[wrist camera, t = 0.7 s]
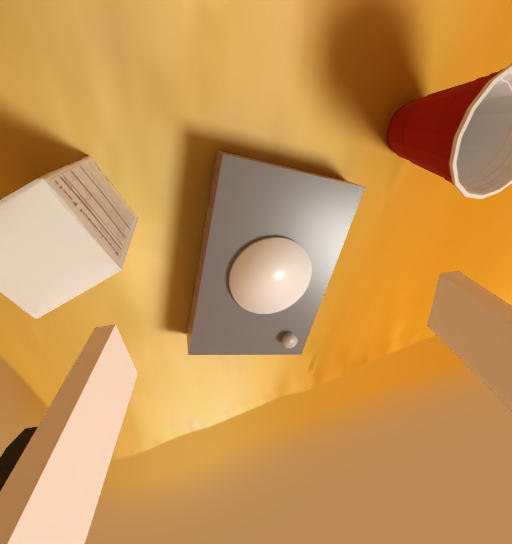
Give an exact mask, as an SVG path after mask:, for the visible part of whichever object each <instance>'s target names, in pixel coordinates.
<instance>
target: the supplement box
mask: <svg viewBox="0 0 512 544" xmlns="http://www.w3.org/2000/svg"><path fill="white" fill-rule="evenodd" d="M137 220H138V217H137V216H136V215H135V214H134V212H133V211H132V210H131V208H130V207H129V206H128V205H127V203H126V202H125V201H124V199H123V198H122V197H121V195H120V194H119V193H118V191H117V190H116V189H115V188H114V186H113V185H112V184H111V182H110V181H109V180H108V178H107V177H106V176H105V174H104V173H103V172H102V171H101V169H100V168H99V167H98V165H97V164H96V163H95V161H94V160H93V159H92V158H91V157H90V156H87V157H84V158H82V159H80V160H78V161H76V162H73V163H71V164H68V165H66V166H64V167H61V168H59V169H56V170H54V171H51V172H49V173H47V174H45V175H43V176H41V177H39V178H37V179H35V180H34V181H32V182H30V183H28V184H27V185H25V186H23V187H21V188H19V189H18V190H16V191H14V192H12V193H11V194H9V195H7V196H6V197H4V198H2V199H0V292H1V293H2V294H3V295H5V296H6V297H7V298H8V299H10V300H11V301H12V302H14V303H15V304H16V305H17V306H19V307H20V308H21V309H22V310H24V311H25V312H26V313H28V314H29V315H31V316H32V317H34V318H36V319H37V318H39V317H41V316H43V315H44V314H46V313H48V312H50V311H52V310H53V309H55V308H57V307H59V306H60V305H62V304H64V303H66V302H67V301H69V300H71V299H73V298H74V297H76V296H78V295H79V294H81V293H83V292H85V291H86V290H88V289H90V288H92V287H93V286H95V285H97V284H99V283H100V282H102V281H104V280H105V279H107V278H109V277H110V276H112V275H114V274H115V273H117V272H119V271H121V270H122V266H123V263H124V261H125V257H126V254H127V251H128V248H129V245H130V242H131V239H132V236H133V233H134V230H135V227H136V223H137Z"/></svg>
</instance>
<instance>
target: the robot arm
mask: <svg viewBox="0 0 512 544" xmlns="http://www.w3.org/2000/svg"><path fill="white" fill-rule="evenodd" d="M427 326H428V327H429V328H430V329H431V330H432V331H433V332H434V333H435V334H436V335H437V336H438V337H439V338H440V339H441V340H442V341H443V342H444V343H445V344H446V345H447V346H448V347H449V348H450V349H451V350H452V351H453V352H454V353H455V354H456V355H457V356H458V357H459V358H460V359H461V360H462V361H463V362H464V363H465V364H466V365H467V366H468V367H469V368H470V369H471V370H472V371H473V372H474V373H475V374H476V375H477V376H478V377H479V378H480V379H481V380H482V381H483V382H484V383H485V384H486V385H487V386H488V387H489V389H490V390H492V391H493V393H494V394H495V395H497V397H498V398H499V399H501V401H502V402H503V403H504V404H505V405H506V406H508V407H509V409H510V410H511V411H512V306H511V305H510V304H508V303H506V302H505V301H503V300H502V299H500V298H499V297H497V296H496V295H494V294H493V293H491V292H490V291H488V290H486V289H485V288H483V287H482V286H480V285H479V284H477V283H476V282H474V281H473V280H471V279H470V278H468V277H467V276H465V275H463V274H462V273H460V272H459V271H454V272H448V273H442V274H440V276H439V280H438V284H437V288H436V292H435V296H434V300H433V304H432V308H431V312H430V316H429V320H428V325H427ZM137 374H138V373H137V371H136V369H135V366H134V364H133V362H132V360H131V358H130V355H129V353H128V351H127V349H126V347H125V344H124V342H123V340H122V338H121V336H120V333H119V331H118V329H117V327H116V325H109V326H103V327H96V328H95V329H94V331H93V333H92V334H91V336H90V338H89V339H88V341H87V343H86V345H85V346H84V348H83V350H82V351H81V353H80V355H79V357H78V358H77V360H76V362H75V364H74V365H73V367H72V369H71V370H70V372H69V374H68V376H67V377H66V379H65V381H64V383H63V384H62V386H61V388H60V389H59V391H58V393H57V395H56V396H55V398H54V400H53V402H52V403H51V405H50V407H49V408H48V410H47V412H46V414H45V415H44V417H43V419H42V421H41V422H40V424H39V426H38V427H32V428H27V429H24V431H23V432H22V433H21V434H20V435H19V436H18V437H17V438H16V439H15V440H14V441H13V442H12V443H11V444H10V445H9V446H8V447H7V448H6V450H5V451H4V453H3V454H2V456H1V457H0V544H85V540H86V537H87V534H88V531H89V528H90V524H91V521H92V518H93V515H94V512H95V508H96V505H97V502H98V499H99V495H100V492H101V489H102V486H103V483H104V480H105V477H106V473H107V470H108V467H109V463H110V461H111V457H112V454H113V451H114V448H115V445H116V441H117V438H118V435H119V432H120V429H121V425H122V422H123V419H124V416H125V413H126V409H127V406H128V403H129V400H130V397H131V393H132V390H133V387H134V384H135V381H136V377H137Z"/></svg>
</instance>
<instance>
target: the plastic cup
mask: <svg viewBox="0 0 512 544" xmlns="http://www.w3.org/2000/svg"><path fill="white" fill-rule="evenodd" d="M388 143H389V146H390V148H391V149H392V150H393V151H394V152H395V153H396V154H397V155H398V156H400V157H402V158H405V159H407V160H409V161H411V162H412V163H414V164H416V165H418V166H420V167H422V168H424V169H426V170H428V171H431V172H433V173H435V174H437V175H439V176H441V177H443V178H445V180H447V181H449V182H451V183H452V184H453V185H455V187H456V188H457V189H458V190H459V191H460V192H461V193H462V194H463V195H464V196H465V197H471V198H477V199H482V198H485V197H488V196H491V195H494V194H496V193H499V192H500V191H502V190H503V189H504V188H506V187H507V186H508V185H510V184H511V183H512V63H511V64H510V65H509V66H508V67H506V68H505V69H503V70H500V71H499V72H496V73H492V74H490V75H489V76H485V77H481V78H478V79H477V80H475V81H472V82H468V83H465V84H462V85H459V86H455V87H452V88H449V89H446V90H442V91H439V92H436V93H433V94H430V95H428V96H426V97H423V98H420V99H417V100H414V101H410V102H409V103H407V104H405V105H404V106H403V107H401V108H400V109H399V110H398V111H397V112H396V114H395V115H394V117H393V118H392V120H391V123H390V126H389V129H388Z"/></svg>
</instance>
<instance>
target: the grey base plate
mask: <svg viewBox="0 0 512 544" xmlns="http://www.w3.org/2000/svg"><path fill="white" fill-rule="evenodd" d="M364 189H365V187H363V186H360V185H357V184H354V183H351V182H349V181H346V180H341V179H337V178H333V177H329V176H325V175H320V174H316V173H312V172H308V171H304V170H299V169H295V168H291V167H287V166H283V165H278V164H274V163H270V162H266V161H262V160H257V159H253V158H249V157H245V156H241V155H236V154H232V153H228V152H224V151H220V150H217V153H216V159H215V165H214V172H213V178H212V184H211V190H210V196H209V202H208V208H207V214H206V220H205V226H204V233H203V239H202V245H201V251H200V257H199V263H198V269H197V275H196V281H195V288H194V294H193V300H192V306H191V312H190V318H189V324H188V330H187V344H188V355H272V354H301V353H302V351H303V348H304V345H305V343H306V340H307V338H308V335H309V332H310V330H311V327H312V325H313V322H314V319H315V317H316V314H317V312H318V309H319V306H320V304H321V301H322V299H323V296H324V293H325V291H326V288H327V286H328V283H329V280H330V278H331V275H332V272H333V270H334V267H335V265H336V262H337V259H338V257H339V254H340V252H341V249H342V246H343V244H344V241H345V239H346V236H347V233H348V231H349V228H350V226H351V223H352V220H353V218H354V215H355V213H356V210H357V207H358V205H359V202H360V199H361V197H362V194H363V192H364Z"/></svg>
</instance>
